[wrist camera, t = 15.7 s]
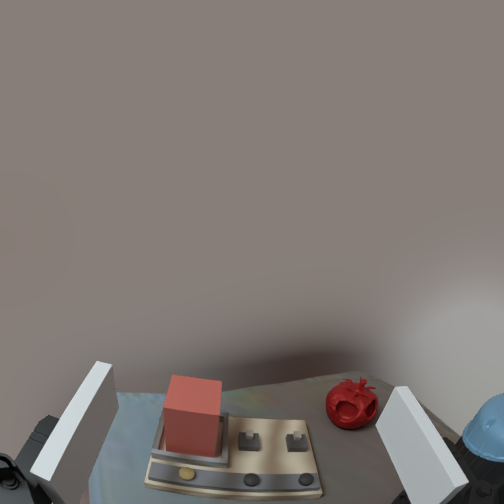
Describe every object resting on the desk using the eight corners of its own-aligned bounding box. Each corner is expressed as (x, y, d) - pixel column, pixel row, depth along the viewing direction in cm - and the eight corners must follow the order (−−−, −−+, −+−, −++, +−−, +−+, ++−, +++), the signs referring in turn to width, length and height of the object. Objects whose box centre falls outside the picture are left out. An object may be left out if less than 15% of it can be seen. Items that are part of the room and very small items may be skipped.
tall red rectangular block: (216, 426, 42) (221, 381, 40) (214, 458, 36) (219, 415, 33) (173, 419, 42) (172, 374, 39) (166, 451, 35) (163, 407, 33)
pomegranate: (317, 401, 54) (329, 363, 52) (363, 401, 54) (378, 365, 51) (325, 435, 44) (340, 397, 42) (376, 434, 44) (395, 396, 42)
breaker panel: (302, 425, 46) (307, 412, 45) (319, 497, 31) (327, 486, 30) (164, 413, 45) (163, 399, 44) (145, 487, 29) (142, 475, 28)
